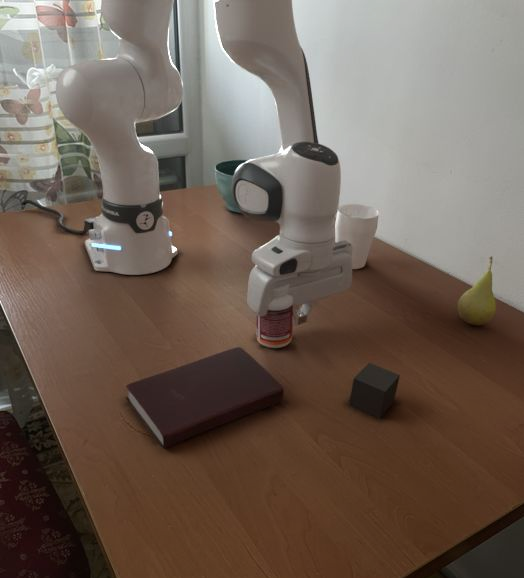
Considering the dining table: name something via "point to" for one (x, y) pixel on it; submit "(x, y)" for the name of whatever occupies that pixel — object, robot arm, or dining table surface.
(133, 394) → the book
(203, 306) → the dining table surface
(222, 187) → the flower pot
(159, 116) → the robot arm
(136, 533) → the dining table surface
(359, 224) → the cup
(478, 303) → the fruit
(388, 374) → the charcoal block
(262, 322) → the pill bottle
